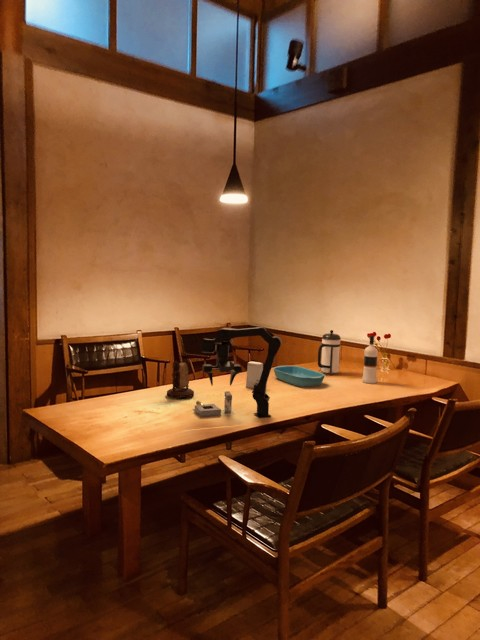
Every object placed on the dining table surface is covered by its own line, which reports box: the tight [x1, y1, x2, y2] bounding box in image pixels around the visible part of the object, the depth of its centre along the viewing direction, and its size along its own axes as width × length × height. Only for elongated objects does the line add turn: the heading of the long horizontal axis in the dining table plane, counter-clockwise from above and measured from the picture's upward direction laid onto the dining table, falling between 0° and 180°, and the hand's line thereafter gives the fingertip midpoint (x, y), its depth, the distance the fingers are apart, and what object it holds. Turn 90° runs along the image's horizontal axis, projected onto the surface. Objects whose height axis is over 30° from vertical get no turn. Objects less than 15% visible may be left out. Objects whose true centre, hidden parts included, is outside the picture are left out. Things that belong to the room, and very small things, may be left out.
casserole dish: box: [272, 365, 326, 388], centre depth 328 cm, size 37×22×7 cm, turn 33°
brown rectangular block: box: [223, 391, 233, 413], centre depth 253 cm, size 4×8×9 cm, turn 10°
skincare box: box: [245, 361, 264, 389], centre depth 309 cm, size 8×6×15 cm
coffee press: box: [317, 329, 342, 376], centre depth 353 cm, size 17×16×30 cm
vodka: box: [361, 335, 379, 385], centre depth 331 cm, size 9×9×30 cm
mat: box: [221, 409, 236, 416], centre depth 254 cm, size 8×6×1 cm
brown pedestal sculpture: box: [166, 359, 195, 400], centre depth 282 cm, size 15×15×20 cm
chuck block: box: [192, 400, 222, 418], centre depth 255 cm, size 20×10×4 cm, turn 22°
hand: (221, 385), depth 254 cm, fingers open, 9 cm apart
